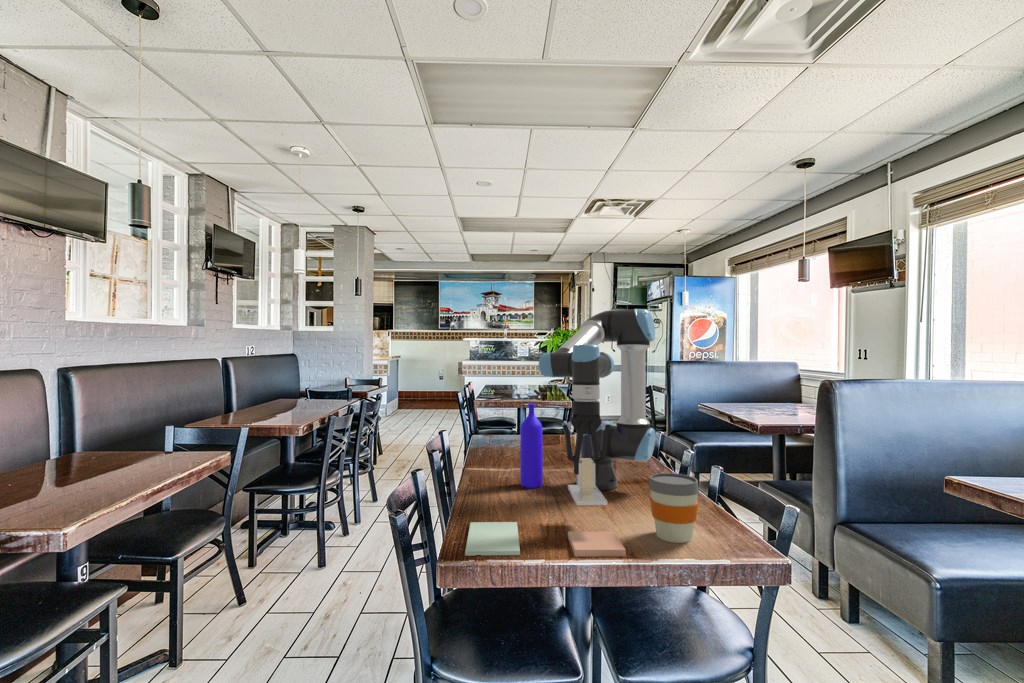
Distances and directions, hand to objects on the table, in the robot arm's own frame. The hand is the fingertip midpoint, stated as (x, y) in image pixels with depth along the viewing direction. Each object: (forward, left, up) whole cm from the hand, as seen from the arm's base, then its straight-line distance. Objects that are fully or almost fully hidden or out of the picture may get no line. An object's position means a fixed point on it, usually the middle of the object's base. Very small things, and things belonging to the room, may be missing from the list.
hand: (586, 486), depth 129 cm
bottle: (-45, -12, -12) cm, 48 cm away
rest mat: (+6, -25, -12) cm, 29 cm away
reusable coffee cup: (+5, +22, -12) cm, 26 cm away
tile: (+6, 0, -11) cm, 12 cm away
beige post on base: (0, 0, -3) cm, 3 cm away
